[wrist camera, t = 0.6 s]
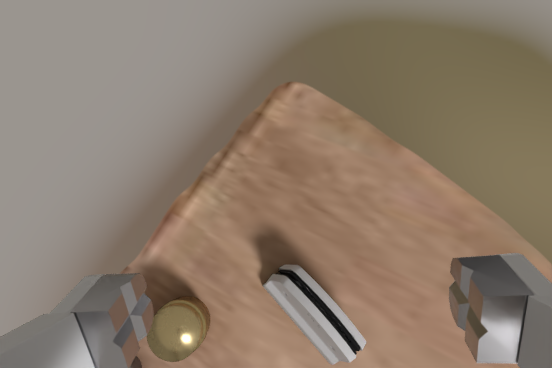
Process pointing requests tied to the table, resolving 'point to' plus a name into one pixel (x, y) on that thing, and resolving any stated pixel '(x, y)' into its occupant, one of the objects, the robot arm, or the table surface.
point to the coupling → (136, 363)
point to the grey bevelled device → (315, 314)
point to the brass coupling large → (178, 328)
